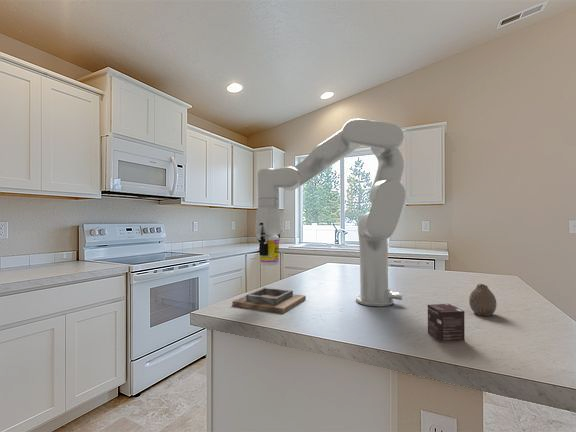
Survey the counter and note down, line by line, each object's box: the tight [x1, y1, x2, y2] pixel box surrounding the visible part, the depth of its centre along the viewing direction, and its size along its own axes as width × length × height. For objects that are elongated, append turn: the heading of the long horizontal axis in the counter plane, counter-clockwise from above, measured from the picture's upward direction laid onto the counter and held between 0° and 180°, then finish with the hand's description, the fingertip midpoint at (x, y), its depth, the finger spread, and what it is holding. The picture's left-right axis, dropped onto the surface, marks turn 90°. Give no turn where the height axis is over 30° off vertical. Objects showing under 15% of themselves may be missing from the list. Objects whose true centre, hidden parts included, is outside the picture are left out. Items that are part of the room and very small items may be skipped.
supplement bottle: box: [259, 229, 280, 266], centre depth 106 cm, size 7×7×13 cm
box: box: [427, 303, 466, 344], centre depth 74 cm, size 6×6×7 cm
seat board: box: [231, 287, 307, 314], centre depth 106 cm, size 20×17×4 cm
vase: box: [468, 283, 498, 317], centre depth 90 cm, size 7×7×9 cm
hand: (269, 253), depth 106 cm, fingers closed on supplement bottle, 6 cm apart
